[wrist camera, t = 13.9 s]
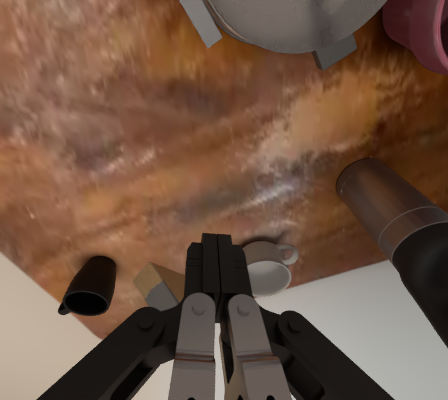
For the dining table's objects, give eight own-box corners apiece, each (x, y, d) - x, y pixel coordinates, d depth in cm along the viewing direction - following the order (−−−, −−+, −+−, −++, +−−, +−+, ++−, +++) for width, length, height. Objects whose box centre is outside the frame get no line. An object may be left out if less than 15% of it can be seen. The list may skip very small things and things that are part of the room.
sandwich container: (148, 260, 56) (133, 327, 44) (206, 283, 62) (207, 347, 50) (131, 281, 59) (113, 348, 47) (187, 300, 65) (183, 365, 53)
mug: (60, 267, 55) (37, 308, 47) (102, 245, 52) (85, 285, 44) (89, 286, 59) (72, 326, 52) (130, 267, 57) (118, 307, 49)
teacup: (249, 273, 61) (255, 303, 54) (223, 248, 55) (226, 279, 49) (302, 247, 57) (315, 276, 50) (280, 217, 51) (291, 246, 45)
